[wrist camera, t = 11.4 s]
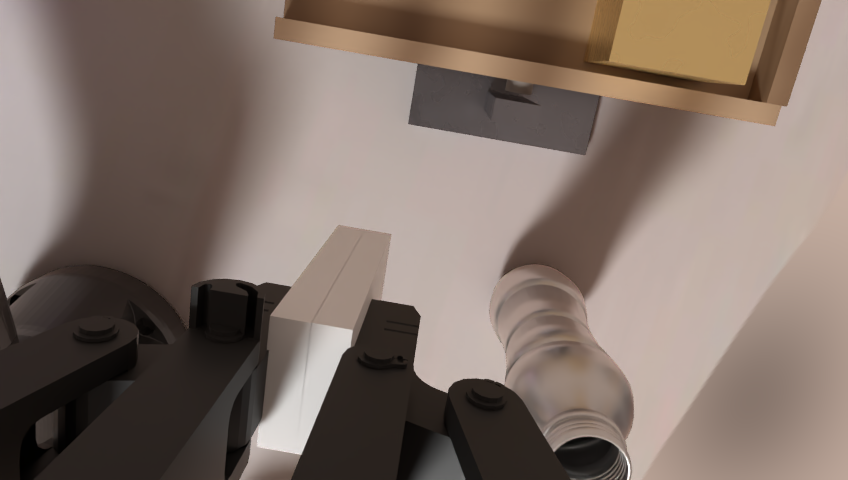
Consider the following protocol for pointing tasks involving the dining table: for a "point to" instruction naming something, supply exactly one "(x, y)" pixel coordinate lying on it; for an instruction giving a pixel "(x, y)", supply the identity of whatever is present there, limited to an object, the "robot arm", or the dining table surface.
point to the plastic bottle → (563, 372)
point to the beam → (548, 48)
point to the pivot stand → (502, 110)
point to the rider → (678, 37)
